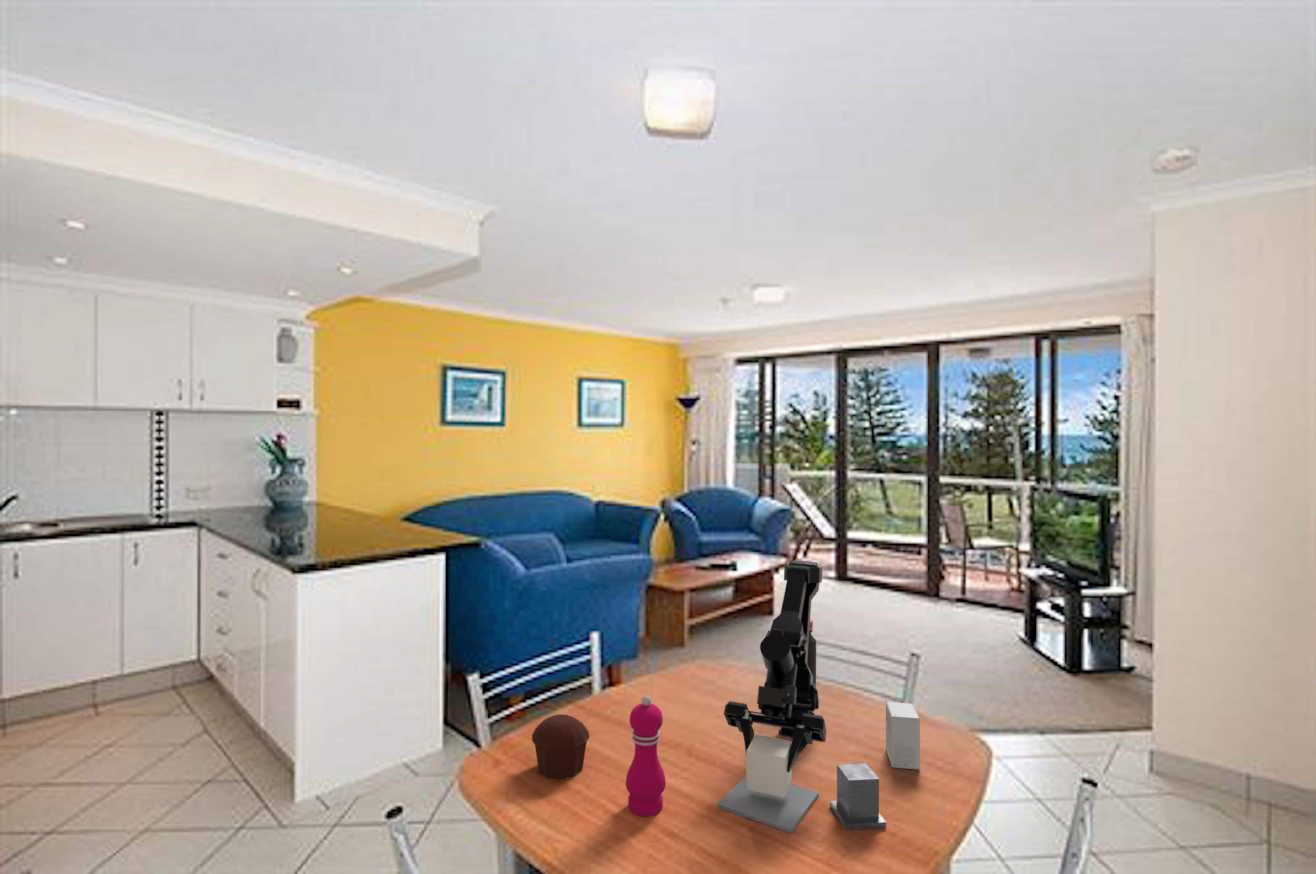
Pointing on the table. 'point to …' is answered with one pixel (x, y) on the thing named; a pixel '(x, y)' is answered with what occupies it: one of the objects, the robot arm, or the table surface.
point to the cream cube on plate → (768, 765)
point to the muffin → (560, 746)
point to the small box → (903, 735)
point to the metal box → (857, 798)
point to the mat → (770, 805)
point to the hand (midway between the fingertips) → (767, 767)
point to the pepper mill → (645, 761)
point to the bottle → (812, 653)
